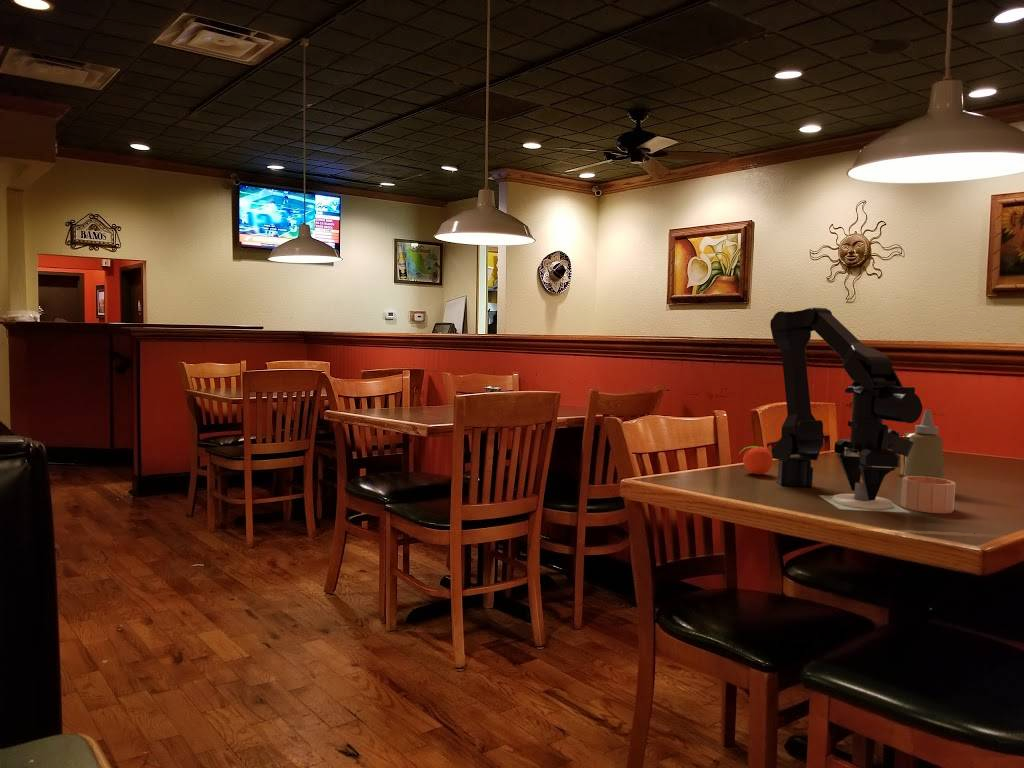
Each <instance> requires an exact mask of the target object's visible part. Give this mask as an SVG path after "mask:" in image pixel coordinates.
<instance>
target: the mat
mask: <svg viewBox="0 0 1024 768" xmlns="http://www.w3.org/2000/svg"><path fill="white" fill-rule="evenodd" d="M818 496H819V497H820V498H821V499H822V500H825V501H826V502H828V503H829V504H831V505H832V506H834V507H835V508H837V509H838V510H840V511H841V510H842V511H843V510H845V511H864V512H866V511H867V512H883V513H884V512H886V513H888V512H889V513H905V514H906V513H907V514H910V513H911V512H910V511H909V510H907V509H906V508H905V509H904V507H902V506H898V505H897V504H894V503H893V508H891V509H884V510H873V509H861V508H854V507H848V506H844V505H840V504H837V503H835V502H833V496H834V495H822V494H821V495H818Z"/></svg>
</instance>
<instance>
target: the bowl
mask: <svg viewBox="0 0 1024 768" xmlns="http://www.w3.org/2000/svg"><path fill="white" fill-rule="evenodd" d="M901 481H902V482H901V483H902V484H901V495H900V507H902V508H905V509H906V510H907V509H908V510H912V511H916V512H923V513H930V514H932V513H933V514H951V513H954V509H955V498H956V497H955V495H956V484H957V483H956V482H955V481H952V480H949V479H944V478H942V479H940V478H933V477H923V476H906V477H905V476H903V477H902V480H901Z"/></svg>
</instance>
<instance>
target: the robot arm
mask: <svg viewBox="0 0 1024 768" xmlns="http://www.w3.org/2000/svg"><path fill="white" fill-rule="evenodd" d="M769 325H770V331H771V335H772V336H771V337H772V340H773V342H774V343H775V345H776V346H777V348H778V349H779V351H780V352H781V359H782V360H781V361H782V369H783V370H782V371H783V380H784V381H783V382H784V391H785V392H784V393H785V402H786V412H787V416H786V418H785V420H784V422H783V424H782V426H781V438H780V439H779V440H778V441H777V442H776V443H775V445H774V446H773V447H772V448H771V455H772V457H773V460H778V466H777V467H778V469H777V480H776V481H775V483H776V484H777V485H779V486H781V487H782V488H796V489H797V488H798V489H799V488H801V489H812V488H813V487H812V486H813V479H814V478H813V477H814V468H813V466H812V461H818V458H819V455H820V453H821V450H822V448H823V446H824V440H825V439H826V436H825V434H824V423H823V421H822V420H821V419H820V420H819V419H816V418H815V416H814V415H813V413H812V405H811V398H810V387H809V386H810V385H809V378H808V366H807V357H806V348H807V346H808V345H809V342H810V340H811V338H812V335H811V334H812V332H815V333H816V334H817V335H818V336H819V337H820V338H821V339H822V340H823V341H825V342H826V344H827V345H828V346H829V347H830V348H831V349H832V350H833V351H834V352H835V353H836V354H837V355H838V356H839V358H841V360H842V365H843V367H842V368H843V369H844V371H845V372H846V374H847V375H848V376H849V378H850V379H851V381H853V382H852V383H851V384H850V385H849V386H848V387H846V388H845V389H844V392H845V393H847V394H852V407H851V420H848V421H847V426H848V427H850V439H849V438H848V439H847V438H839V439H837V440H836V441H835V442H834V451H833V452H835V453H836V457H837V458H838V460H839V463H840V465H841V468H842V470H843V472H844V475H845V477H846V479H847V482H848V485H849V488H850V491H853V492H855V483H856V482H861V478H862V482H863V483H864V486H865V490H866V494H867V497H868V500H875V498H876V497H878V493H879V491H880V488H881V486H882V482H883V480H884V478H885V476H886V475H888V474H889V473H891V472H892V471H895V470H896V468H899V467H900V462H901V456H904V457H906V458H907V457H908V455H909V453H910V451H911V449H912V446H913V444H914V442H912V441H910V439H906V438H905V437H902V436H900V432H899V431H896V430H893V429H892V428H889V426H888V424H886V423H884V421H890V422H897V423H904V424H914V423H916V422H917V421H918V420H919V419H920V417H921V415H922V412H923V404H922V401H921V399H920V397H919V396H918V395H917V393H916V387H914V386H903V384H902V382H901V381H900V379H899V377H898V375H897V373H896V371H895V369H894V367H893V361H892V360H891V358H890V357H888V356H887V355H886V354H884V353H883V352H881V351H879V350H878V349H876V348H873V347H871V346H868V345H865V344H864V343H863V342H861V341H860V340H859V338H857V337H856V336H855V335H854V334H853V333H852V332H851V331H850V330H849V329H848V328H847V327H846V326H844V324H843V323H842V322H840V321H839V320H838V319H837V318H836V317H835V316H834V315H833V313H832V311H831V310H830V309H828V308H826V307H825V308H824V307H808V308H805V309H801V310H796V311H781V310H780V311H777V312H775V314H774V316H773V317H772V318H771V320H770V324H769ZM899 455H900V456H899Z"/></svg>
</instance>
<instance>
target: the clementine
mask: <svg viewBox="0 0 1024 768" xmlns="http://www.w3.org/2000/svg"><path fill="white" fill-rule="evenodd" d="M745 449H747V450H746V451H745V453H744V454H743V458H742V459H743V466H744V468H745V469H746V470H747V471H748V472H749V473H751V474H753V475H756V476H757V475H758V476H760V475H765V474H766V473H768V472H770V470H771V468H772V467H773V464H774V458H773V456H772V452H770V450H768V449H767V448H766V447H765V446H764V447H763V446H760V445H756V446H755V445H752V446H747V447H744V448H743V449H742V450H741V451H740V452H739V454H738V455H739V456H740V454H741V453H742V451H744V450H745Z"/></svg>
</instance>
